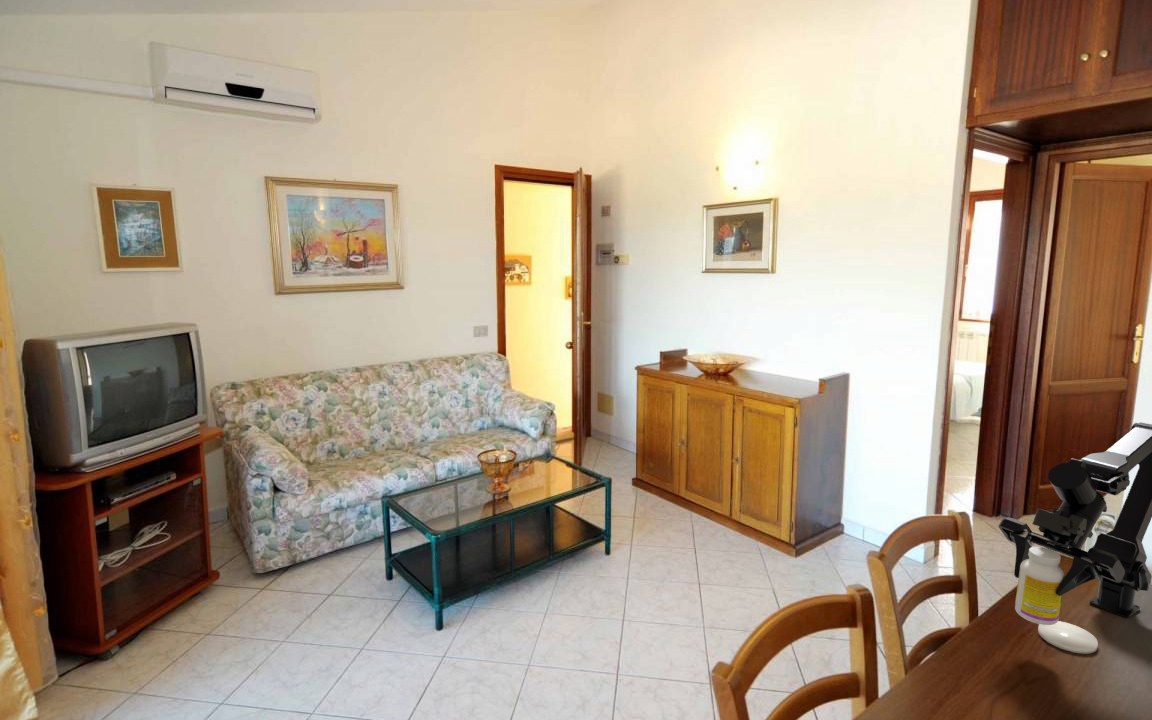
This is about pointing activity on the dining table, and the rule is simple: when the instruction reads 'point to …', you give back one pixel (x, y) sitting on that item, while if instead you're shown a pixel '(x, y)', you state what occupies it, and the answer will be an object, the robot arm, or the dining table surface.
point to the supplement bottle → (1039, 587)
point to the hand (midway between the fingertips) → (1036, 585)
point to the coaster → (1069, 637)
